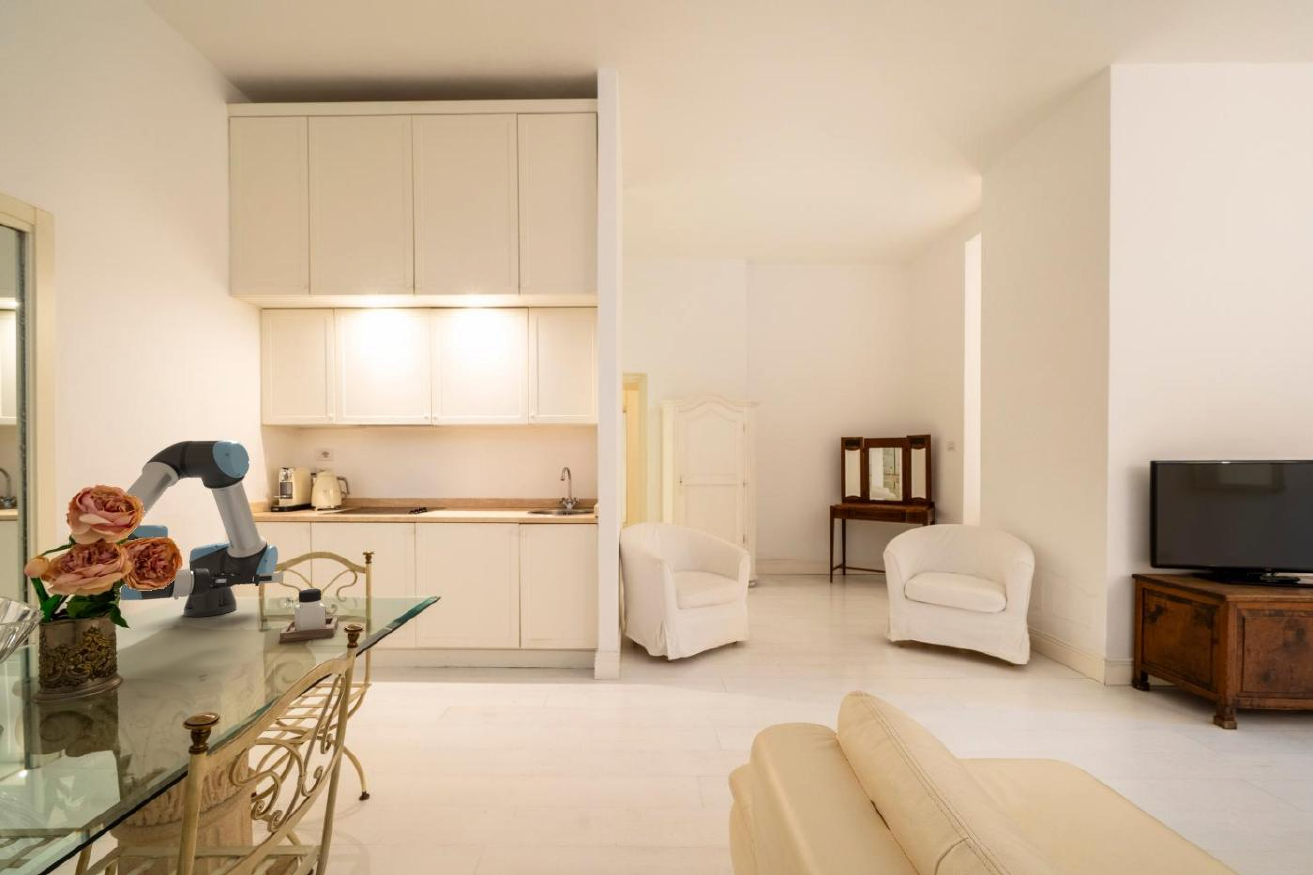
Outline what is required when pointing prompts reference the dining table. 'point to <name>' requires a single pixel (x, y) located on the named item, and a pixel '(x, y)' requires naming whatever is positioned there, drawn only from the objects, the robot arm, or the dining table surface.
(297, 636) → the wooden tray
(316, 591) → the medicine bottle
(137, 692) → the dining table surface
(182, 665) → the dining table surface
